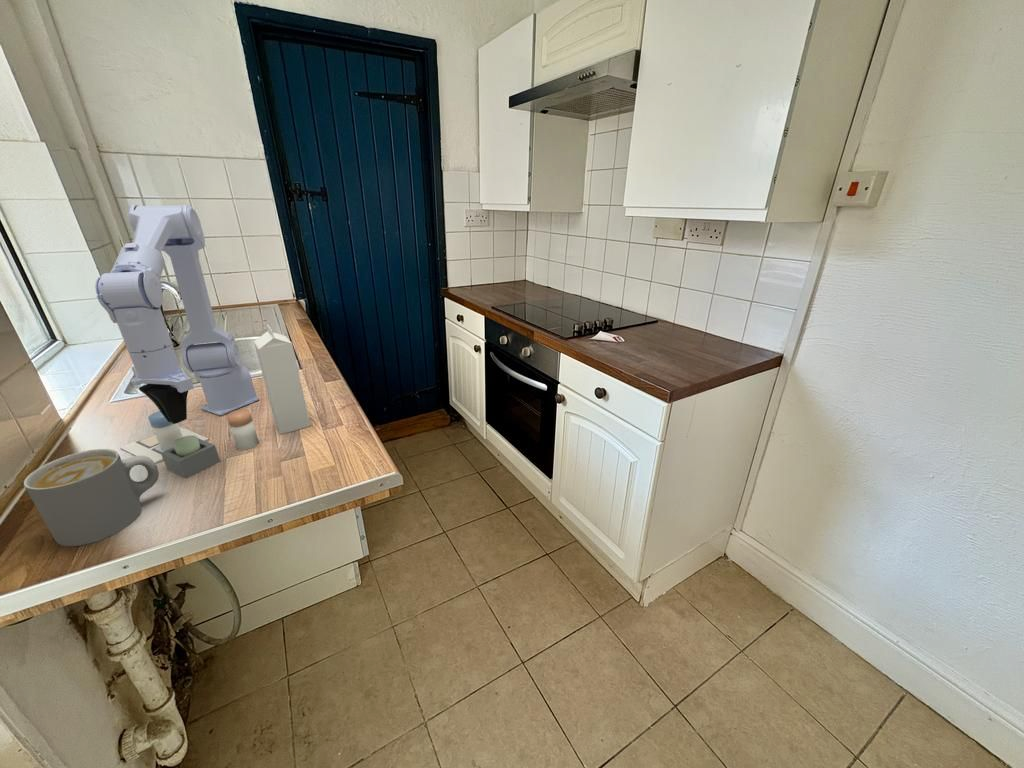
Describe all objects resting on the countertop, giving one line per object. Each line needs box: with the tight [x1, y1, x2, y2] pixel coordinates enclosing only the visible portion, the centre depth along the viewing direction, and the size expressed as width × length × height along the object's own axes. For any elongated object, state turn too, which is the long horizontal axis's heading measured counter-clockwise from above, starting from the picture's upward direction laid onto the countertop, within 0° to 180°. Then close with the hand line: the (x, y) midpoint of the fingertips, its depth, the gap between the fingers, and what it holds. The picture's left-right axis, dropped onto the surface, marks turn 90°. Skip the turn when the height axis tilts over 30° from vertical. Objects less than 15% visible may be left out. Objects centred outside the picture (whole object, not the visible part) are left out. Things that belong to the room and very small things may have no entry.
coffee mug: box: [23, 448, 160, 547], centre depth 64 cm, size 13×10×10 cm
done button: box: [173, 435, 201, 458], centre depth 77 cm, size 4×4×4 cm
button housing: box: [161, 438, 221, 479], centre depth 78 cm, size 6×6×4 cm
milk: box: [253, 324, 311, 435], centre depth 88 cm, size 6×6×22 cm
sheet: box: [120, 426, 209, 465], centre depth 85 cm, size 10×12×1 cm
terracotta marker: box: [226, 408, 259, 451], centre depth 83 cm, size 4×4×7 cm
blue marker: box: [148, 410, 183, 451], centre depth 82 cm, size 4×4×7 cm
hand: (177, 420), depth 75 cm, fingers closed
